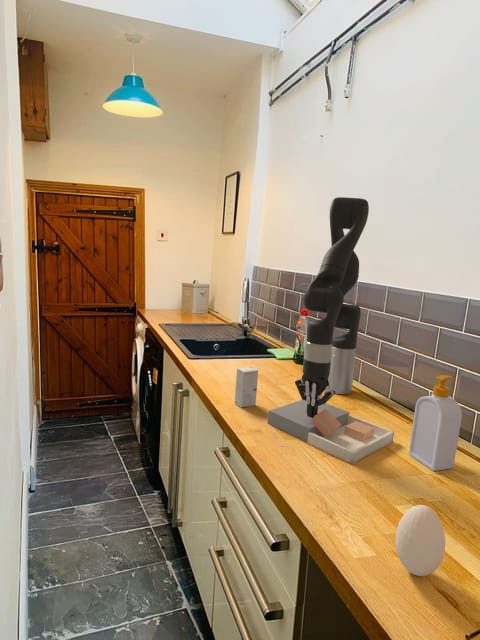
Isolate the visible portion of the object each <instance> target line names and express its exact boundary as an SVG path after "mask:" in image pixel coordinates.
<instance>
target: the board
mask: <svg viewBox="0 0 480 640" xmlns="http://www.w3.org/2000/svg"><path fill="white" fill-rule="evenodd" d="M325 409H327V410H328V411H329V412H330V413H331V414H332V415H333V416H334V418H335V419H336V420H337V421H338V422H339V423H340V424H341V426H340V427H342V426H344V425H346V424H348V423H349V416H350V411H347V410H344V409H341V408H339V407H336V406H334V405H331V404H329V403H327V402H326V403H325V404H323V405H320V406H318V413H320V412H322V411H323V410H325ZM312 419H313V418H310V417H308V416H307V403H306V401H305V400H302V399H301V400H297V401H294V402H291V403H288V404H286V405H282V406H279V407H276V408H273V409H270V410H268V417H267V424H269V425H271V426H273V427H275V428H277V429H279V430H281V431H283V432H285V433H287V434H290V435H291V436H294V437H295V438H297V439H300V440H301V441H304V442H306V443H308V433H309V432H311V433H313V434H316V435H318V436H321V435H323V434H322V433H321V432H320V431H319V430H318V429H317V428H316V427H315V425H314V424H313V423H312V422H311V420H312Z"/></svg>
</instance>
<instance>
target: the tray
mask: <svg viewBox="0 0 480 640" xmlns="http://www.w3.org/2000/svg"><path fill="white" fill-rule="evenodd" d="M355 421H357V422H360V423H362V424H365V425H368V426H370V427H373V428H375V431H374V436H373V437H372V438H370V439H368V440H366V441H365V442H361V441H359V440H357V439H354V438H352V437H349V436H347V435H344V432H345V426H347V425H349V424H351V423H353V422H355ZM394 435H395V431H393V430H390V429H388V428H386V427H382V426H380V425H377V424H374V423H372V422H370V421H367V420H364V419H362V418H360V417H356V416H354V415H352V414H351V415H350V414H349V421H348V424H346V425H344V426H342V427H339V428H338V429H337V430H336V431H335V432H333V433H332V434H330V435H329V436H328V437H325V436H324V435H321V436H318V435H316V434H313V433H311V432H309V433H308V442H307V444H308V445H311V446H313V447H314V448H316V449H319V450H321V451H323V452H325V453H327V454H329V455H332V456H333V457H336V458H338V459H340V460H342V461H344V462H347V463H348V464H350V465H352V466H353V465H355V464H356V463H358V462H360V461H361V460H363V459H365V458H367V457H368V456H370V455H373V454H374V453H376V452H378V451H379V450H381V449H383V448H384V447H386V446H387V445H389V444H392V443H393V442H394V438H395V437H394Z"/></svg>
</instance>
